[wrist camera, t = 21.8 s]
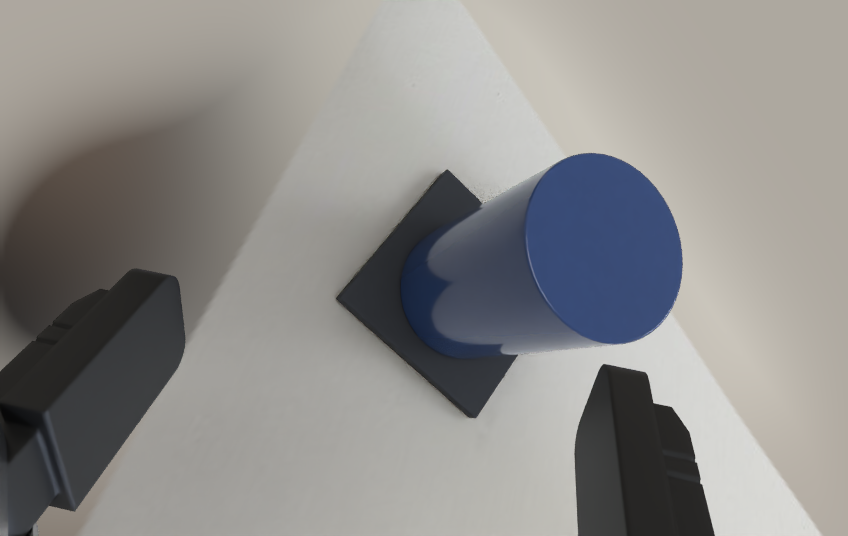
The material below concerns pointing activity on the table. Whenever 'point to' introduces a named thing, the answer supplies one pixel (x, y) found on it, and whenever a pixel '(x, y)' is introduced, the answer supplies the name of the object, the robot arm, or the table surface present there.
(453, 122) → the table surface
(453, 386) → the mat
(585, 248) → the canister
